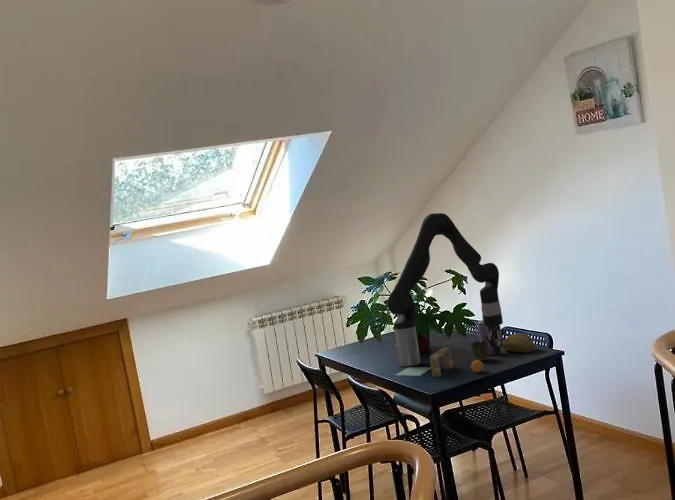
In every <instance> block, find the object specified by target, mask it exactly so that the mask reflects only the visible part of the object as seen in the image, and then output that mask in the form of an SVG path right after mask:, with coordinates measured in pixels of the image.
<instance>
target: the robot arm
mask: <svg viewBox="0 0 675 500" xmlns="http://www.w3.org/2000/svg"><path fill="white" fill-rule="evenodd" d="M441 235H442V236H444V237H445V238H446V239H448V240H449V241H450V242H451V244H452V247H453V250H454V253H455V255H456V257H458V259H459V260H460V261H462V263H463V264H464V265H465V266H466V267H467V270H468V271H469V272H470V273H469V274H471V277H472V278H473V279H474V280H475V281H476V282H478V283H480V284H481V283H484V284H485V285H484V286H483V287H482V288H481V289H479V297H480V304H481V313H482V315H483V319H482V320H483V322H484V325H485V326H487V327H488V334H489V336H486V338H487V340H488V342H489V344H490V345H491V346H493V347H494V352H495V353H494V356H495V357H496V356H497V357H499V356H501V355H502V350H501V349H502V347H501V344H503V337H504V328H501V325H503V323H504V321H503V315H502V308H501V307H502V306H501V304H500V300H499V299H500V298H499V293H498V289H499V279H500V271H499V269H498V267H497V265H496V264H495V263H494V262H487V263H483V264H481V260H482V256H481V254H480V253H479V252H478V251H477V250H476V249H475V248H474V247H473V245H471V244H470V243H469V242H468V241H467V239H466V238H465V237H464V236H463V234H462V233H461V232H460V231H459V229H458V227H457V226H456V224H455V223H454V222H453V221H452V219H451V218H450V217H449V215H447V214H446V213H443V212H438V213H429V214H427V215H426V216H425V217H424V218H423V221H422V223H421V226H420V230H419V232H418V235H417V238H416V240H415V243H414V245H413V248H412V249H411V253H410V255H409V257H408V258H407V260H406V263H405V266H404V268H403V270H402V272H401V274H400V276H399V279H398V280H397V283H396V285H395V286H394V288H393V290H392V292H391V293H390V295H389V296H388V299H387V304H386V305H387V310H388V311H389V312H390V313H391V314H394V315H398V316H397V318H396V320H394V323H393V325H394V326H393V327H394V331H395V339H396V340H395V341H396V344H395V350H396V357H397V364H398V366H399V367H405V368H408V367H415V366H417V365H420V364H421V357H420V350H419V343H418V335H417V330H416V325H415V324H416V310H415V309H416V306H415V301H414V298H413V295H412V294H411V291H412V290H413V288H415V287H416V285H417V284H418V283H419V282H420V281H421V280H422V279H423V277H424V276H425V274H426V271H427V269H428V268H429V266H430V262H431V255H430V247H431V245H432V242H433V240H434V238H435V237H436V236H441Z"/></svg>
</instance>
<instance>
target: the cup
mask: <svg viewBox="0 0 675 500" xmlns="http://www.w3.org/2000/svg"><path fill="white" fill-rule="evenodd" d="M469 345H470V348H471V353H472V354H473V356H474V357H475V358H476V360H479V361H481V362H483V361H485V360H486V356H488V355H487V353H488V342H485V341H481V343H480V340H478V341H476V340H475V341H474V342H472V343H470V344H469Z"/></svg>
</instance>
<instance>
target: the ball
mask: <svg viewBox="0 0 675 500" xmlns="http://www.w3.org/2000/svg"><path fill="white" fill-rule="evenodd" d="M470 368H471V370H472V372H475V373H481V372H482V371H483V370H484V363H483V361H479V360H477V359H476V360H473V361H472V362H471V364H470Z"/></svg>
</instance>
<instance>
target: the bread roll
mask: <svg viewBox="0 0 675 500" xmlns="http://www.w3.org/2000/svg"><path fill="white" fill-rule="evenodd" d="M502 348H503V350H504V351H507V352H517V353H525V354H528V353H529V352H530V353H532V351H533V352H534V351H535V343H534V341H533V339H532V337H530V335H528V334H526V333H522V332H521V333H520V332H519V333H517V332H515V333H513V334H510V335H509V336H507V337H506V338H505V339H504V341H502Z"/></svg>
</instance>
